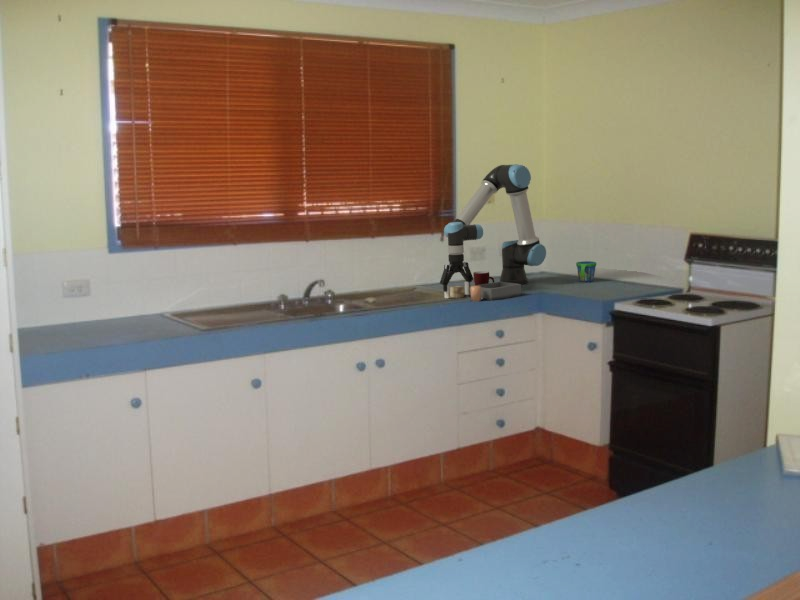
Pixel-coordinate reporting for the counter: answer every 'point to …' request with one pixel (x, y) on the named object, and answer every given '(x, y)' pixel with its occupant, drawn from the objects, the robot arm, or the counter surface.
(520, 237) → the robot arm
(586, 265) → the snack cup
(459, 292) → the wood cube
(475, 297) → the terracotta cylinder
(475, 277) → the mug
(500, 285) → the tote
